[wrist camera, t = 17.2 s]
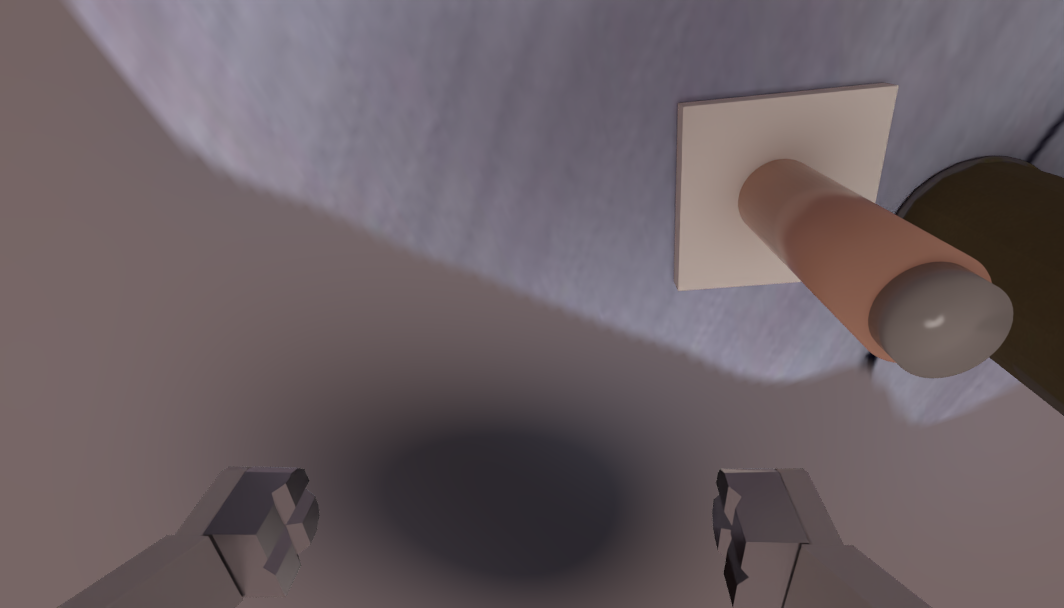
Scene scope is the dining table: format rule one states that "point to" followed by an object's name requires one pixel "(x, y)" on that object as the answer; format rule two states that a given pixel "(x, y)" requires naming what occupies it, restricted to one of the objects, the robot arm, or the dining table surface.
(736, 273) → the board
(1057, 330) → the canister
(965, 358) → the shaker
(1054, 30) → the dining table surface
